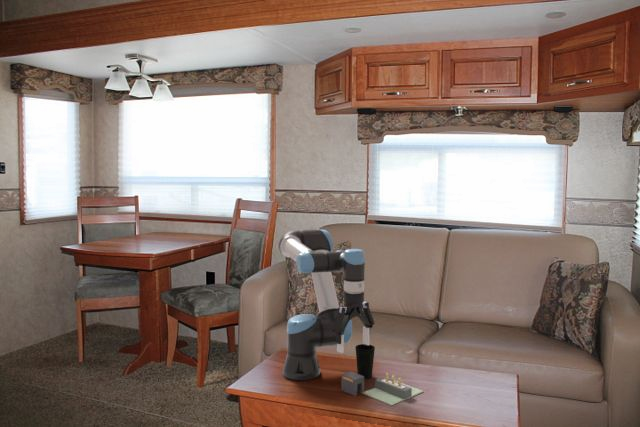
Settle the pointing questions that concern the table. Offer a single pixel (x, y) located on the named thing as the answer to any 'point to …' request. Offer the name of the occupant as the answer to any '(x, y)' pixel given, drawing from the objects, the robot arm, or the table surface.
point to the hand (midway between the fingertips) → (353, 348)
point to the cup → (365, 360)
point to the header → (391, 391)
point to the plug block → (352, 383)
